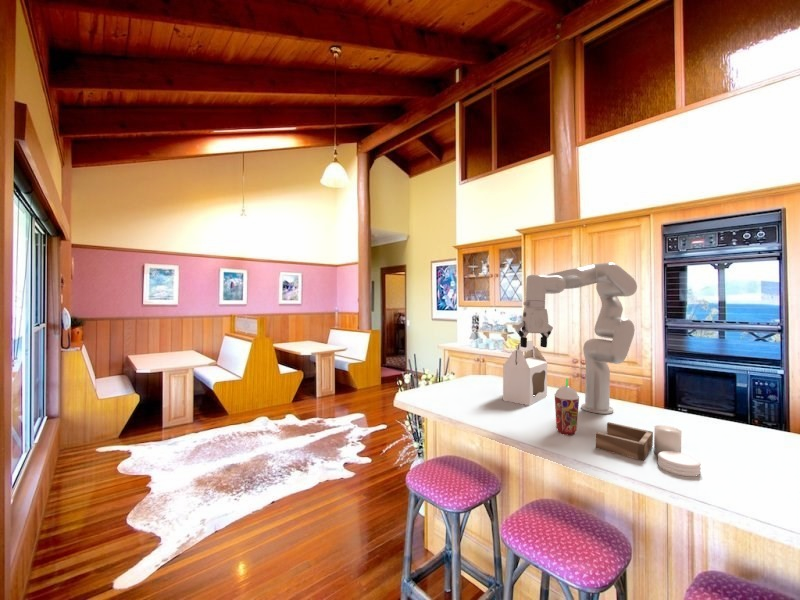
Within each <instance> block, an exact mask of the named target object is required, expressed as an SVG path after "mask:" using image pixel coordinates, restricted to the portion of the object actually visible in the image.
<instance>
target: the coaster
mask: <svg viewBox="0 0 800 600" xmlns="http://www.w3.org/2000/svg"><path fill="white" fill-rule="evenodd" d="M657 464H658V466H659V467H660V468H661V469H663V470H664V471H666V472H668V473H671V474H675V475H678V476H682V477H689V476H694V477H697V476H696V475H698V476H700V475H701V462H700V461H699V460H698V459H697V458H695V457H693V456H691V455H690V454H686V453H683V452H681V453H679V452H674V451H662V452H660V453H659V454H657ZM699 474H700V475H699Z"/></svg>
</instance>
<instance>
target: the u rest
mask: <svg viewBox="0 0 800 600" xmlns="http://www.w3.org/2000/svg"><path fill="white" fill-rule="evenodd" d="M653 439H654V431H651V430H646V429H641V428H638V427H637V428H636V427H632V426H629V425H628V426H627V425H622V424H619V423H614V422H609V421H608V422H607V423H606V433H604V432H599V431H598V432H597V431H596V432H595V449H597V450H601V451H605V452H609V453H613V454H616V455H620V456H623V457H626V458H631V459H634V460H639V461H642V462H644V461H645V459H646V458H647V456H648V455H649V453H650V451H651V450H652V449H653V447H654V446H653V445H654V440H653ZM652 446H653V447H652ZM650 449H651V450H650ZM647 454H648V455H647Z"/></svg>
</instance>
